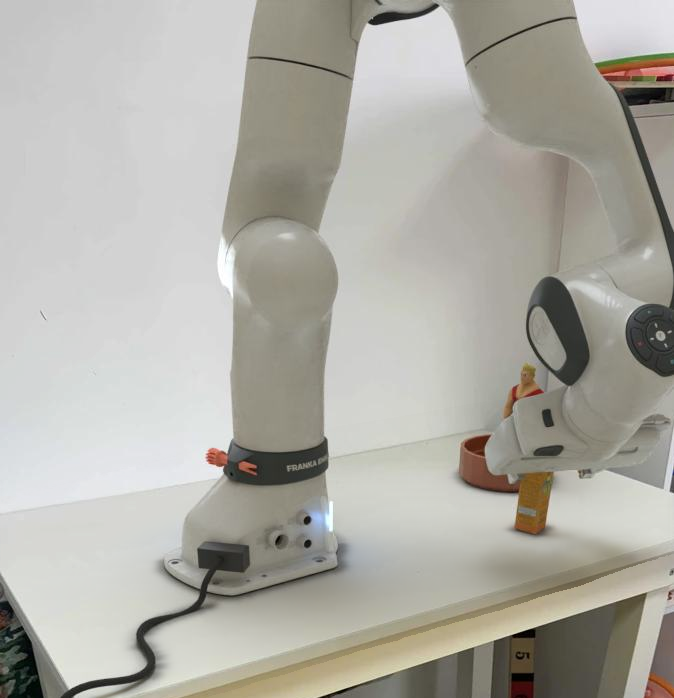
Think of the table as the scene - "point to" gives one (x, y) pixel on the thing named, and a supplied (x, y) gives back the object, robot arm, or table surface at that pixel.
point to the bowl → (481, 466)
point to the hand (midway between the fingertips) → (548, 476)
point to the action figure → (522, 389)
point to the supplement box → (533, 501)
